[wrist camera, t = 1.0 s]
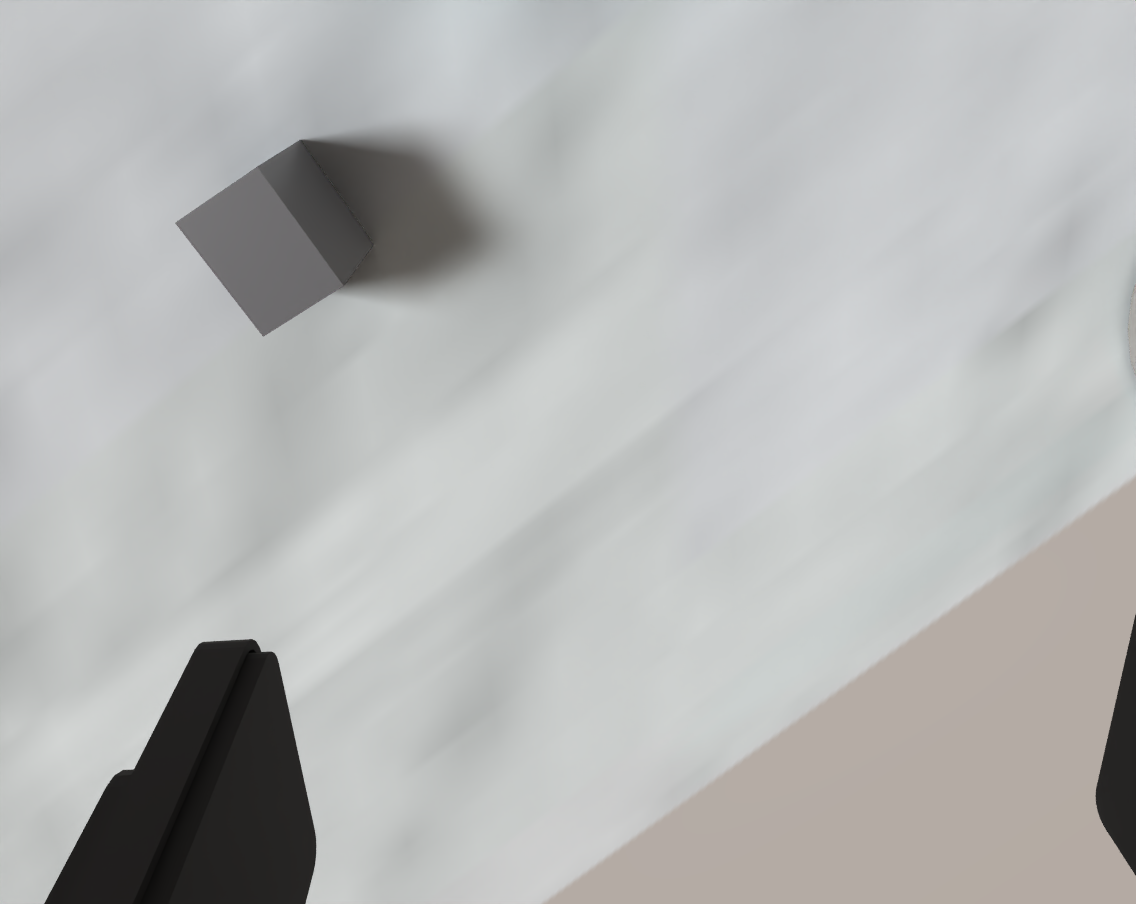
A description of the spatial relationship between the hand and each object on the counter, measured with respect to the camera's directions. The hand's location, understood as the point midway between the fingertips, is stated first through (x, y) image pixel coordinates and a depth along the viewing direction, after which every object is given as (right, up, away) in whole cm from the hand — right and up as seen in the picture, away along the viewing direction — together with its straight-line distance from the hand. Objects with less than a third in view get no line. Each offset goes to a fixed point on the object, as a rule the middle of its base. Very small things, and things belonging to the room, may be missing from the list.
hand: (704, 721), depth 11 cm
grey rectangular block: (-10, +11, +23) cm, 27 cm away
